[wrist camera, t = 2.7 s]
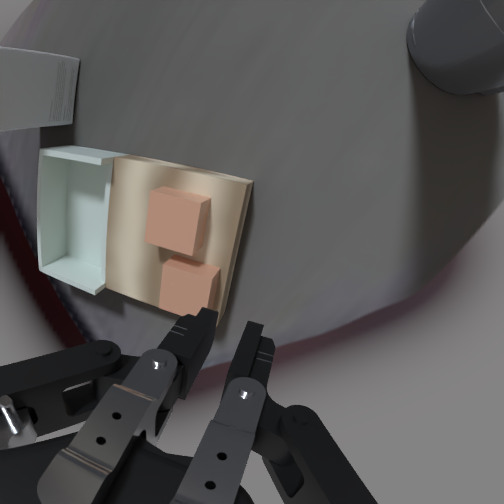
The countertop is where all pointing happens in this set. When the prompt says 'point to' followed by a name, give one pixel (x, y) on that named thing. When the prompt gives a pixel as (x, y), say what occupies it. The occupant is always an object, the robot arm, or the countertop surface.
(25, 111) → the skincare box
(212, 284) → the tile
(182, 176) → the board
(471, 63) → the robot arm
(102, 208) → the box
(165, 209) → the tile
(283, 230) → the countertop surface
